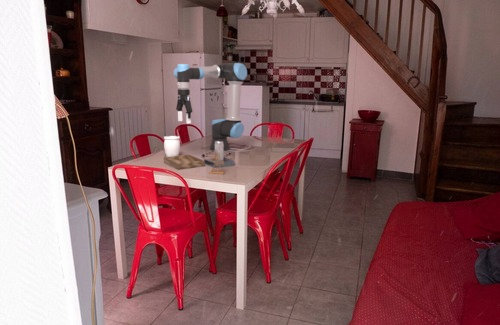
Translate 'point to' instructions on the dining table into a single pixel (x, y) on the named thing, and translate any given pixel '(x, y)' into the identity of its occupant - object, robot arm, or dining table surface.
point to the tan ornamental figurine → (217, 167)
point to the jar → (172, 145)
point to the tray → (184, 162)
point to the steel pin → (219, 149)
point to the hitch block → (226, 162)
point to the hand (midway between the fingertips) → (184, 122)
